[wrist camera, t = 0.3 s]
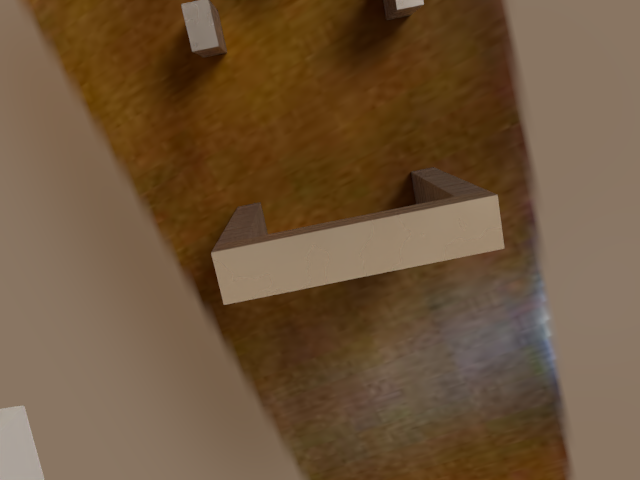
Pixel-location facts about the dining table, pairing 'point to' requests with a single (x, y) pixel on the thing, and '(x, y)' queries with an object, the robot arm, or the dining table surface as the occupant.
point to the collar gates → (352, 233)
